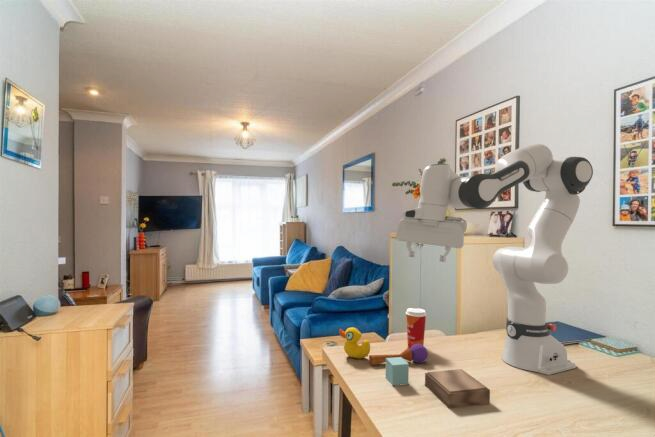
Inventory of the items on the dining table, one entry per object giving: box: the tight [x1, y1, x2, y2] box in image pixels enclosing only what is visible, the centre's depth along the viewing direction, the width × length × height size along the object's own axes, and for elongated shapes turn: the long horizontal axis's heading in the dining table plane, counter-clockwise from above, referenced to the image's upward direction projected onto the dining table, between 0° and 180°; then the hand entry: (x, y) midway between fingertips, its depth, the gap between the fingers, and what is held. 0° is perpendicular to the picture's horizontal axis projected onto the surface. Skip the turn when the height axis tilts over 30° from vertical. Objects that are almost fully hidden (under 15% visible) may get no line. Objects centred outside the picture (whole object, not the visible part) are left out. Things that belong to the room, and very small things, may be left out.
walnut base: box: [424, 368, 491, 409], centre depth 92 cm, size 12×12×4 cm
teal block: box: [385, 357, 410, 386], centre depth 99 cm, size 5×5×6 cm
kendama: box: [368, 344, 429, 366], centre depth 112 cm, size 6×6×20 cm
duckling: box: [338, 326, 371, 359], centre depth 116 cm, size 11×5×10 cm, turn 63°
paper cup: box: [405, 307, 427, 349], centre depth 126 cm, size 8×8×14 cm
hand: (426, 259), depth 104 cm, fingers open, 8 cm apart
